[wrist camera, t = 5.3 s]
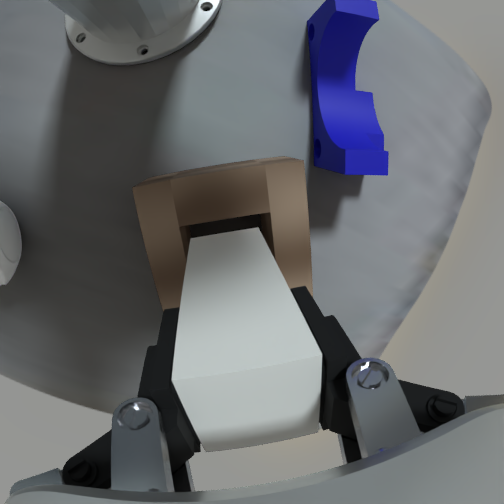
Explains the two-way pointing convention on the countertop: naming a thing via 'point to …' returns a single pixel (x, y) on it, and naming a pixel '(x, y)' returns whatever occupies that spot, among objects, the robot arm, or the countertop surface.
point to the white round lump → (8, 243)
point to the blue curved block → (343, 91)
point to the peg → (243, 347)
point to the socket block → (225, 216)
